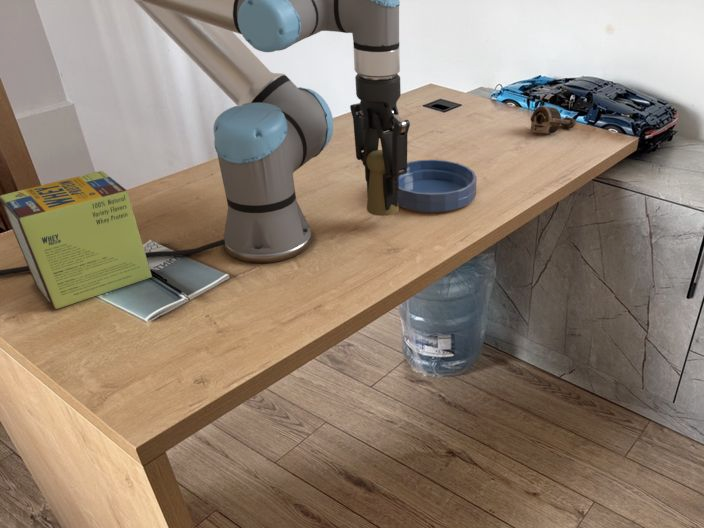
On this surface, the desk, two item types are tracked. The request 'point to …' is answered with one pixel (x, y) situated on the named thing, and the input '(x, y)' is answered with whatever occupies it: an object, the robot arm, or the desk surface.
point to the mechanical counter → (549, 120)
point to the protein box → (77, 237)
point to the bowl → (436, 186)
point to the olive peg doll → (377, 185)
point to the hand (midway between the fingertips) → (382, 203)
